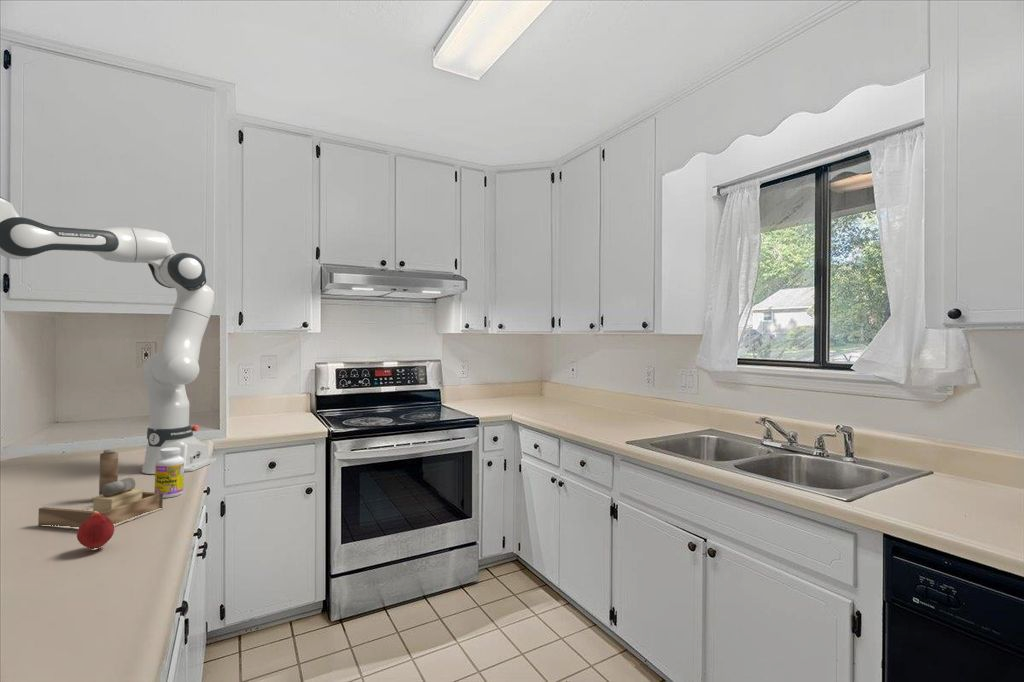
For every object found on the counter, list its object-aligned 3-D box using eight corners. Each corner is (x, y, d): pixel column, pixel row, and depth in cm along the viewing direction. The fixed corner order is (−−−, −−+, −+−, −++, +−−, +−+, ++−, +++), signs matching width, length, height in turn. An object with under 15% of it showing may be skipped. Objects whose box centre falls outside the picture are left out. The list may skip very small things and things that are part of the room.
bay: (105, 504, 131) (105, 489, 131) (162, 509, 128) (162, 493, 128) (38, 526, 115) (38, 508, 115) (101, 531, 113) (102, 513, 113)
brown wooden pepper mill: (108, 496, 138) (110, 448, 138) (124, 497, 137) (125, 449, 137) (91, 501, 133) (92, 451, 133) (107, 503, 132) (108, 452, 132)
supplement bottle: (150, 499, 136) (151, 451, 136) (160, 492, 142) (161, 446, 142) (178, 497, 138) (179, 450, 138) (186, 491, 144) (188, 446, 144)
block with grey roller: (124, 510, 126) (125, 475, 126) (143, 511, 125) (144, 477, 125) (91, 521, 117) (92, 484, 118) (111, 523, 117) (112, 486, 117)
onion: (109, 542, 107) (110, 504, 107) (117, 549, 103) (118, 510, 103) (73, 550, 102) (74, 511, 103) (80, 558, 99) (81, 517, 99)
